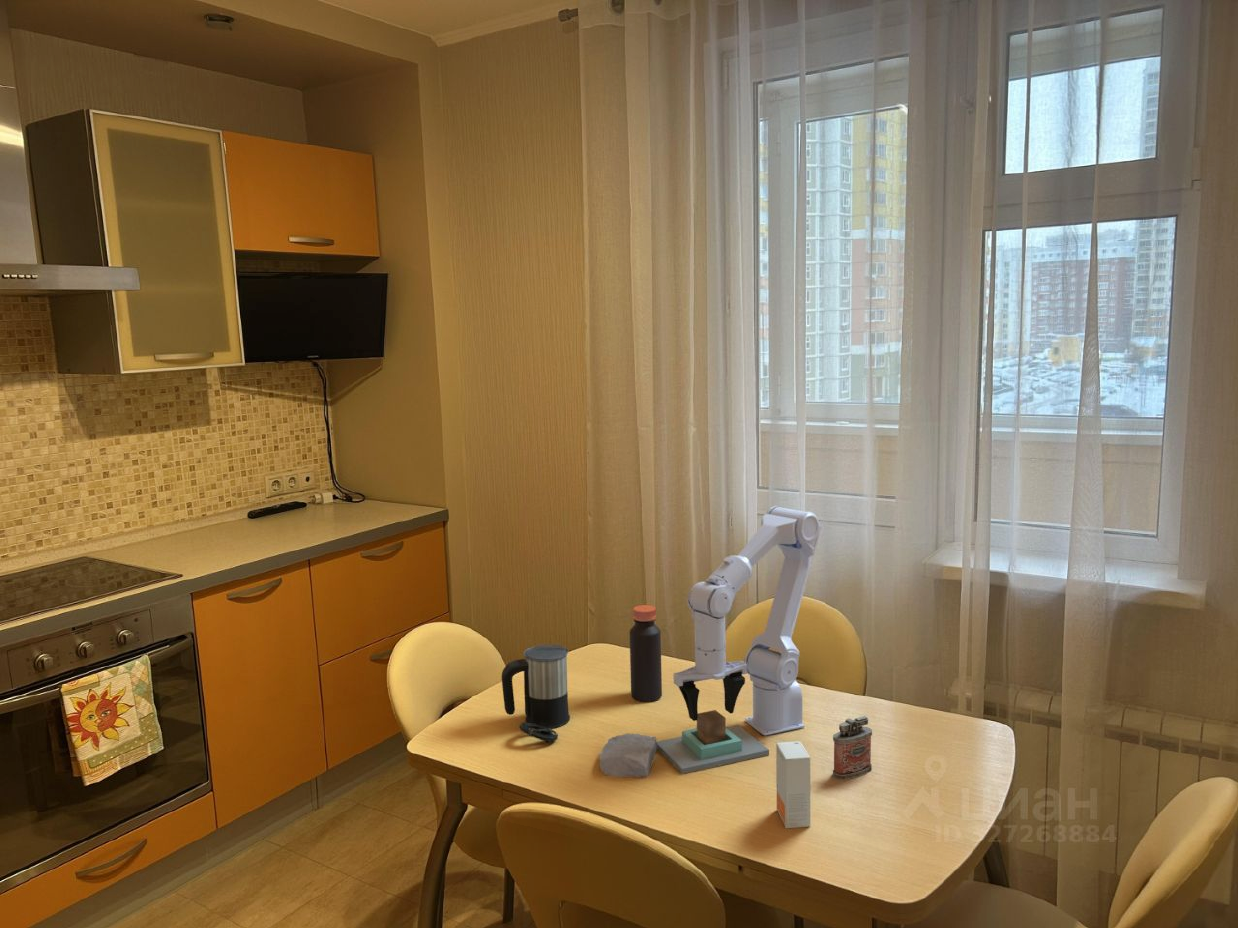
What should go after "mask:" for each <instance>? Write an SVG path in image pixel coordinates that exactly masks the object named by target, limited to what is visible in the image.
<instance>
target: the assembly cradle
mask: <svg viewBox="0 0 1238 928" xmlns="http://www.w3.org/2000/svg"><path fill="white" fill-rule="evenodd" d="M656 744H657V746H656V750H658V751H659V752H660V753H661V754H662V755H663V756H664V757H665V759H667V760H668V761H669V762H670V763H671V764H672V765H673V766H674V767H675V768H676V769H677V770H678V771H679V772H680V773H681V774H682V775H684V774H685V775H686V774H688V773H693V772H697V771H699V772H700V771H702V770H703V771H704V770H707V769H711V768H717V767H720V766H726V765H730V764H735V763H739V762H742V761H747V760H751V759H758V758H760V757H761V758H762V757H766V756H770V749H769V748H767V747H766V745H764V744H762V743H761V741H759V740H758V739H756V738H755V737H754V736H753V735H751V734H750V733H749V732H747V731H746V730H745V729H744V728H743V727H741V726H740V725H739V724H735V725H732V726H726V741H722V742H718V743H713V744H708V745H703V744H702V743H701V742H700V741H699V740H698V739H697V727H695V728H691V729H686V730H682V731H681V736H678V737H672V738H668V739H662V740H658V741H657V740H656Z"/></svg>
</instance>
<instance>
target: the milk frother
mask: <svg viewBox="0 0 1238 928" xmlns="http://www.w3.org/2000/svg"><path fill="white" fill-rule="evenodd" d="M569 652H570V651H569V649H568V648H566V647H564V646H561V645H556V644H541V645H535V646H532V647H530V648H529V647H528V648H526V649H525V650H524V651H523V656H524V657H525V658H522V659H521V658H520V659H514V660H512V661H510V662H508V663H507V664H506V665H505V667H504V668H503V669H502V672H501V687H502V697H503V704H504V710H505V713H506V714H507V715H509V716H510V715H514V714H515V710H516V707H515V698H514V697H515V696H514V694H515V693H514V686H513V677H514V676H515V675H516V674H517V673H519V672H520V673H521V672H523V679H524V680H523V681H524V682H523V687H524V688H523V689H524V690H523V691H524V714H525V722H522V723H520V724H519V726H518V728H519V730H520V731H521V732H523V733H524V734H527V735H528V736H530V737H532V738H535V739H538V740H540V741H543V742H545V743H547V744H548V743H549V742H555V741H557V740H558V737H559V735H558V734H559V733H557V732H556V731H555V730H553V729H555V728H559V727H562V726H564V725H566V724H568V722H569V721H570V719H571V716H570V713H569V700H568V699H569V698H568V657H567V656H568V654H569Z"/></svg>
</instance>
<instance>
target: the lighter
mask: <svg viewBox="0 0 1238 928" xmlns="http://www.w3.org/2000/svg"><path fill="white" fill-rule="evenodd" d="M868 724H869V718H868V717H867V716H866V715H863V716H860V717H856V718H854V719H853V718H849V717H848V718H846V720H845V721H844V722H841V723H839V724H838V725H839V727H838V730H839V732H836V733H834V734H833V736H832V740H833V769H832V776H833V778H834V779H837V780H839V781H840V780H841V781H844V780H850V779H854V778H857V777H862V776H864V775H865V774H868V773H870V772H872V766H873V765H872V763H871V757H872V753H871V752H872V736H873V729H872V728H871V727H869V726H866V725H868Z"/></svg>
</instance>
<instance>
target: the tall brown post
mask: <svg viewBox="0 0 1238 928" xmlns="http://www.w3.org/2000/svg"><path fill="white" fill-rule="evenodd" d="M726 720H727V718H726V717H725V716H724V715H723V714H722V713H720V712H719V711H717V709H715V710H708V711H704V712H700V713H698V718H697V721H696V728H697V739H698V740H699V741H700V742H701V743H702V744H703V745H708V744H713V743H718V742H722V741H726V727H727V725H726V722H727V721H726Z"/></svg>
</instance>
